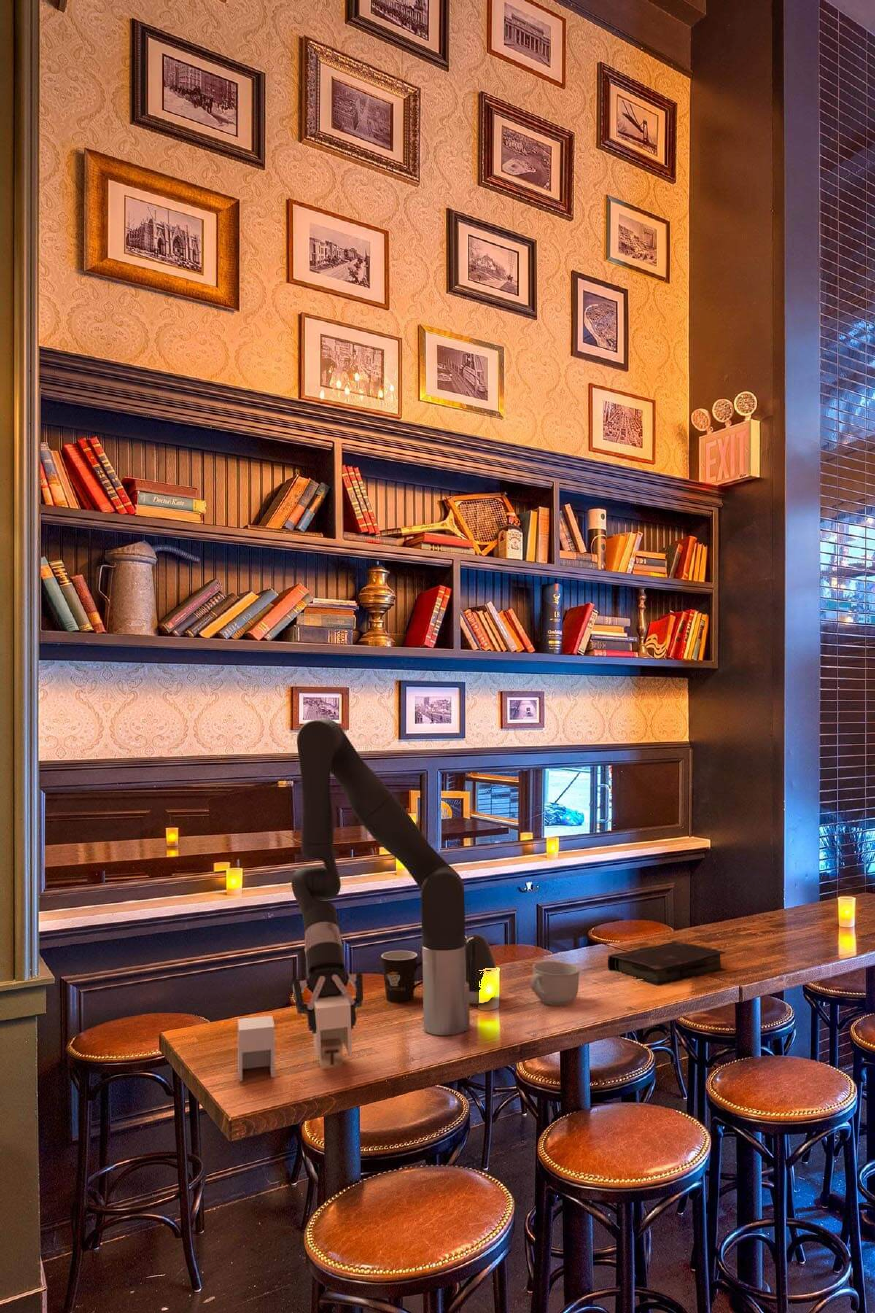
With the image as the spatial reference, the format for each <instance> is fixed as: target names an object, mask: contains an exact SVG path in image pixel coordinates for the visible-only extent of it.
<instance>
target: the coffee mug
mask: <svg viewBox="0 0 875 1313" xmlns="http://www.w3.org/2000/svg"><path fill="white" fill-rule="evenodd" d="M380 957H381V965H382V972H383V974H382V975H383V981H384V990H385V996H386V997H385V998H386V1001H388V1002H389V1001H390V1003H394V1004H399V1003H400V1004H401V1003H407V1002H408V1001H409V1002H411V1001H413V1000H414V996H415V989H416V988H417V987H420V985H423V979H422V980H421V981H420V982H418V983H416V975H417V974H416V973H417V970H418V968H419V967H420V966H423V961H421V962H418V953H417V952H414V951H410V950H391V951H386V952H384V953H382V954H381V956H380ZM417 962H418V963H417ZM409 1002H408V1003H409Z"/></svg>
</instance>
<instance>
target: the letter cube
mask: <svg viewBox="0 0 875 1313" xmlns="http://www.w3.org/2000/svg"><path fill="white" fill-rule="evenodd" d="M320 1042H321V1058H318V1062H319V1065H320V1069H321V1070H326V1068H328V1069H336V1068H337V1069H338V1068H343V1066H344V1065H343V1062H344V1061H343V1060H344V1058H343V1057H344V1056H343V1052H344V1051H343V1046H344V1045H343V1044H342V1043H341V1040H340V1038H336V1039H327V1040H320Z"/></svg>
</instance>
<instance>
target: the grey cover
mask: <svg viewBox="0 0 875 1313" xmlns="http://www.w3.org/2000/svg"><path fill="white" fill-rule="evenodd" d="M275 1030H276V1029H275V1022H274V1018H273V1015H266V1016H257V1017H246V1018H238V1019H237V1076H238V1082H243V1070H245V1069H246V1070H247V1069H255V1068H262V1067H269V1072H270V1078H275V1071H276V1070H275V1069H276V1068H275V1065H276V1064H275V1062H276V1061H275V1056H276V1055H275V1054H276V1052H275V1048H276V1047H275V1044H276V1043H275V1039H276V1038H275V1037H276V1035H275Z"/></svg>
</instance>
